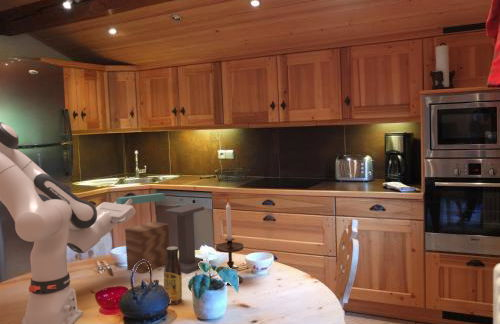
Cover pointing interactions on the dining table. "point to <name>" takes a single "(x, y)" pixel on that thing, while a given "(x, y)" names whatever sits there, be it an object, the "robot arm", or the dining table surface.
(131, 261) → the walnut block
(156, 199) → the teal rod
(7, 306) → the dining table surface
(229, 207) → the candlestick
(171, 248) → the sauce bottle
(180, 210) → the dark grey pedestal stand
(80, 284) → the dining table surface
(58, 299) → the robot arm
